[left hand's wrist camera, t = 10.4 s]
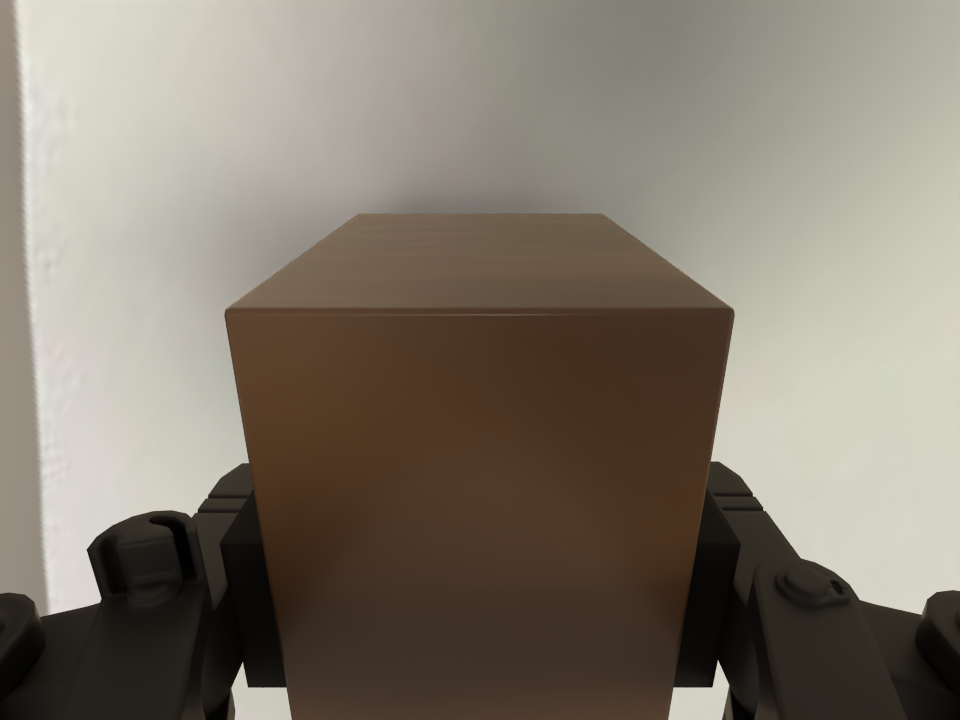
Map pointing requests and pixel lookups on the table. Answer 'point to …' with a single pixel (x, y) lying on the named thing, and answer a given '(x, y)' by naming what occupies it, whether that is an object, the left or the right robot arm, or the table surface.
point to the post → (479, 465)
